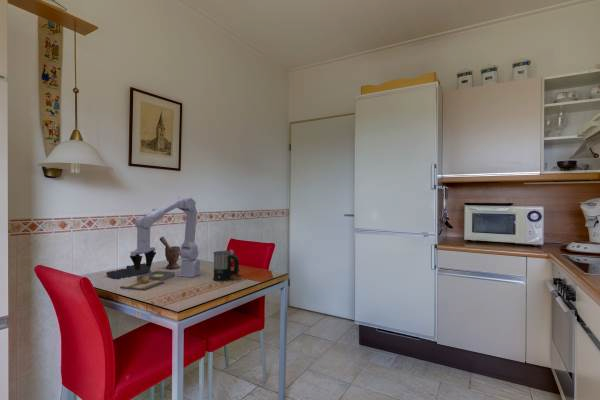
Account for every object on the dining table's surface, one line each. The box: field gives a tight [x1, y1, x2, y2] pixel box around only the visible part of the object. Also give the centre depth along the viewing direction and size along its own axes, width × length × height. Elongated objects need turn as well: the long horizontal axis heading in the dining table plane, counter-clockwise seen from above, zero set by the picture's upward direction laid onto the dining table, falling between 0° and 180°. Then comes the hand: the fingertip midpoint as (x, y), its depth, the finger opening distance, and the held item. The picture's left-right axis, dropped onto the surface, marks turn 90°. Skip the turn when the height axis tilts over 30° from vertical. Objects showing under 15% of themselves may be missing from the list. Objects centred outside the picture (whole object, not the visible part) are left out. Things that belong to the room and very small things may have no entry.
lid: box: [120, 275, 164, 289], centre depth 153 cm, size 13×13×4 cm
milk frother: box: [212, 250, 240, 282], centre depth 171 cm, size 14×16×15 cm
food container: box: [229, 248, 235, 267], centre depth 200 cm, size 12×6×10 cm, turn 148°
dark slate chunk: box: [105, 262, 152, 280], centre depth 176 cm, size 15×22×5 cm
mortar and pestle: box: [159, 236, 181, 270], centre depth 190 cm, size 12×9×20 cm
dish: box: [144, 270, 176, 282], centre depth 168 cm, size 12×12×2 cm
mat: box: [119, 281, 165, 291], centre depth 153 cm, size 14×14×1 cm
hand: (143, 268), depth 153 cm, fingers open, 7 cm apart
